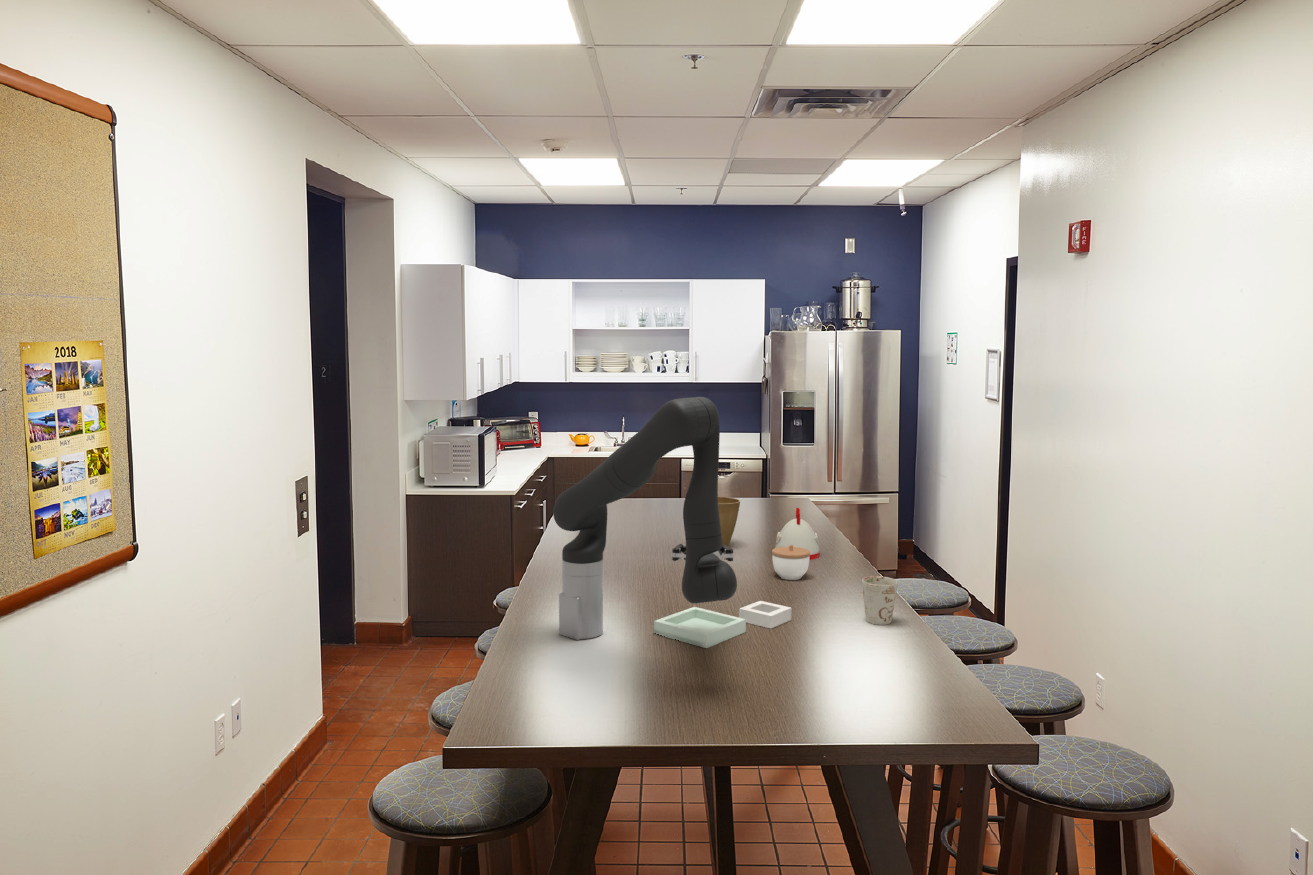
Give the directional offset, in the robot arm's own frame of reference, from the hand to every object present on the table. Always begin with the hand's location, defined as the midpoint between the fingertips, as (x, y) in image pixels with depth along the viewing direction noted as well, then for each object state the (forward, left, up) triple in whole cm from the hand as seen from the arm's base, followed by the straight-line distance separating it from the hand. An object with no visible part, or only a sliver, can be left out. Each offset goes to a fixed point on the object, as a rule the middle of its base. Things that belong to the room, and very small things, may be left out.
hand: (700, 545), depth 204 cm
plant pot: (+71, +47, -20) cm, 87 cm away
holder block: (+16, -8, -20) cm, 27 cm away
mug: (+35, -27, -20) cm, 48 cm away
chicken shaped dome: (+80, +22, -20) cm, 85 cm away
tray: (-2, -2, -20) cm, 20 cm away
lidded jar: (+55, +9, -20) cm, 59 cm away
